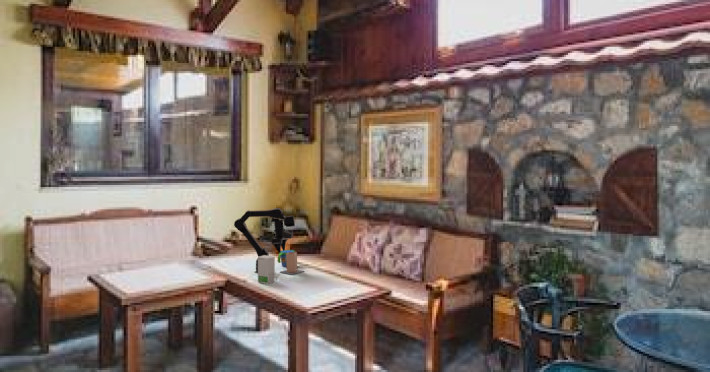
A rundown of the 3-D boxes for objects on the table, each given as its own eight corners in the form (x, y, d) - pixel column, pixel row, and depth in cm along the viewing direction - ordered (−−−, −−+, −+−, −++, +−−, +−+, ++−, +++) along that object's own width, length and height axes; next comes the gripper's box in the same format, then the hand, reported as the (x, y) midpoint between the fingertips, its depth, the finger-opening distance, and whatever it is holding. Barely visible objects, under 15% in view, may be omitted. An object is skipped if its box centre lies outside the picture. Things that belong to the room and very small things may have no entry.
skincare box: (257, 282, 314) (256, 256, 313) (264, 280, 320) (263, 254, 319) (269, 284, 310) (268, 258, 309) (275, 281, 316) (274, 255, 315)
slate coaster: (291, 275, 331) (291, 274, 331) (279, 272, 338) (279, 271, 338) (304, 271, 339) (304, 270, 339) (292, 269, 346) (292, 268, 346)
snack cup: (292, 262, 366) (291, 248, 365) (301, 265, 359) (301, 250, 358) (273, 266, 355) (273, 251, 355) (282, 269, 348) (282, 254, 347)
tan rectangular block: (286, 272, 336) (286, 253, 336) (289, 270, 342) (288, 252, 341) (294, 272, 336) (294, 253, 335) (297, 270, 341) (296, 252, 340)
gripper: (287, 229, 328) (289, 253, 329) (295, 224, 347) (297, 248, 347) (270, 230, 330) (272, 254, 331) (278, 226, 348) (281, 249, 349)
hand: (281, 251), depth 340 cm, fingers open, 9 cm apart
